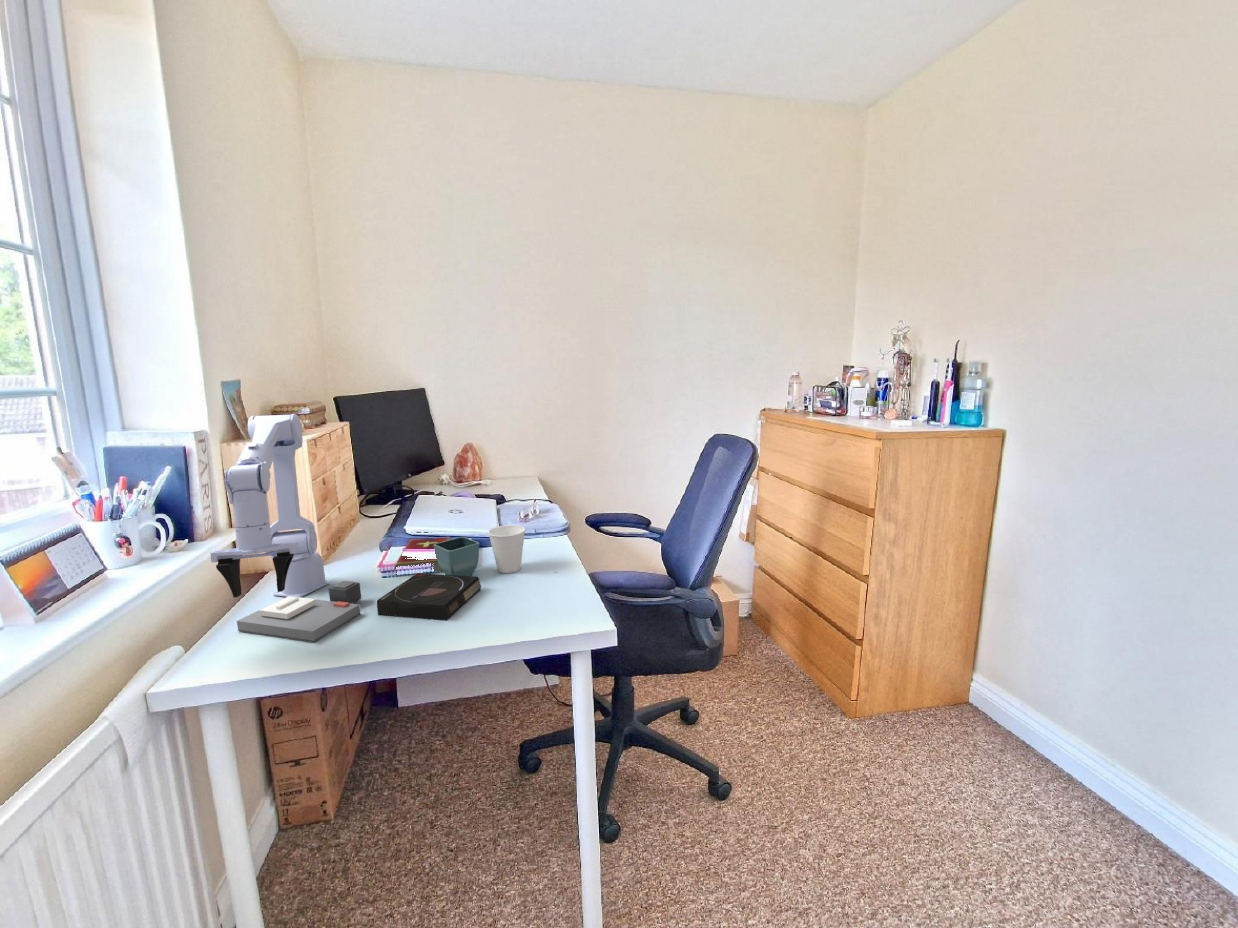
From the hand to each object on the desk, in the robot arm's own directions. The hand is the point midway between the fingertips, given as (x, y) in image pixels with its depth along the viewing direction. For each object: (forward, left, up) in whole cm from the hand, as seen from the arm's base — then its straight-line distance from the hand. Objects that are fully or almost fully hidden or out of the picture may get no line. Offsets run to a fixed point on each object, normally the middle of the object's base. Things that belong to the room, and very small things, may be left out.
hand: (259, 593), depth 110 cm
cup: (-48, +29, -11) cm, 57 cm away
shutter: (-9, -4, -8) cm, 13 cm away
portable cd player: (-25, +21, -12) cm, 35 cm away
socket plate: (-9, -1, -11) cm, 14 cm away
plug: (-19, +2, -11) cm, 22 cm away
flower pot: (-41, +18, -11) cm, 46 cm away
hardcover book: (-49, +2, -12) cm, 51 cm away
